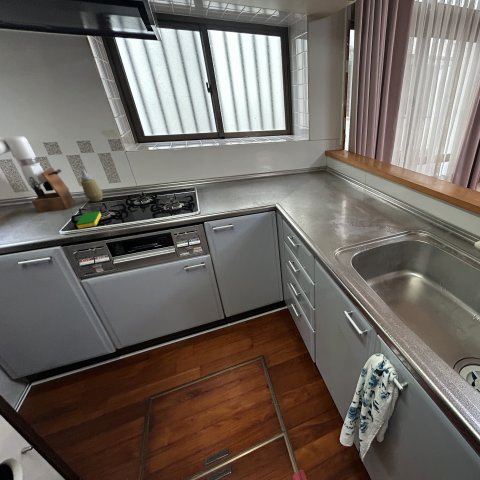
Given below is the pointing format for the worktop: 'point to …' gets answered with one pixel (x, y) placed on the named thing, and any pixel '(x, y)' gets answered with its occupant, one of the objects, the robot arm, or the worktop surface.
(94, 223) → the dish sponge
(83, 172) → the squeeze bottle
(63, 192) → the box lid
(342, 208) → the worktop surface
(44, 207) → the storage box
